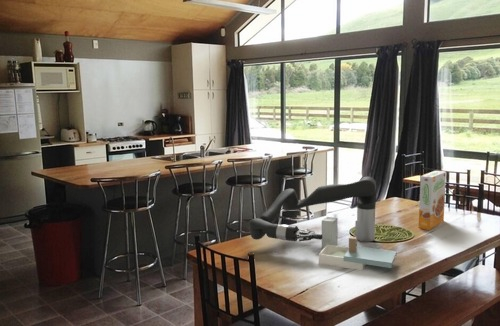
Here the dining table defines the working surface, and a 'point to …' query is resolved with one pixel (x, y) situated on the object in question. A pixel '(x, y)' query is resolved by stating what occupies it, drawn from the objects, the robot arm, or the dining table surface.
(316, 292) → the dining table surface
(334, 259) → the box
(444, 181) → the cereal box
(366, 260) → the lid
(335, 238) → the skincare box
